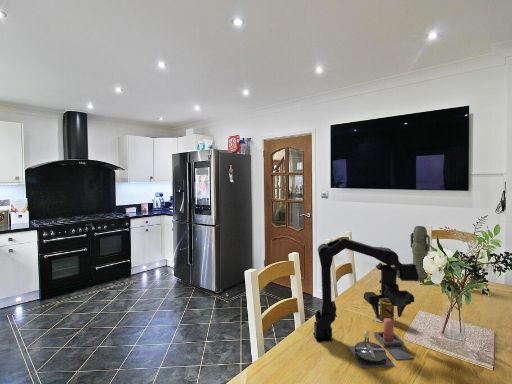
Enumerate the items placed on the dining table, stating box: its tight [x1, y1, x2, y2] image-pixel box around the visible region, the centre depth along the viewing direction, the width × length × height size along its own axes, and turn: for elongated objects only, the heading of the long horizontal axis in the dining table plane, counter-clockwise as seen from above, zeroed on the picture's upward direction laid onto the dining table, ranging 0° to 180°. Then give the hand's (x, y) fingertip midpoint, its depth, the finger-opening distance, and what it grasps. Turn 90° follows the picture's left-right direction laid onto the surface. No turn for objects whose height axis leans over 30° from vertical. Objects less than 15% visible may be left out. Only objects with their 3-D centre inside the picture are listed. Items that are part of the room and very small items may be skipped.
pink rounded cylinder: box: [383, 318, 395, 342], centre depth 116 cm, size 4×4×9 cm
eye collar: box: [373, 331, 405, 349], centre depth 116 cm, size 8×8×2 cm
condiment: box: [373, 299, 396, 326], centre depth 134 cm, size 7×8×12 cm
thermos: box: [410, 225, 431, 283], centre depth 182 cm, size 9×12×35 cm
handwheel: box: [354, 330, 387, 362], centre depth 106 cm, size 11×11×5 cm
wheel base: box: [347, 345, 395, 369], centre depth 107 cm, size 12×12×1 cm
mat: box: [385, 347, 415, 361], centre depth 108 cm, size 7×7×1 cm
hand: (388, 317), depth 115 cm, fingers open, 9 cm apart
